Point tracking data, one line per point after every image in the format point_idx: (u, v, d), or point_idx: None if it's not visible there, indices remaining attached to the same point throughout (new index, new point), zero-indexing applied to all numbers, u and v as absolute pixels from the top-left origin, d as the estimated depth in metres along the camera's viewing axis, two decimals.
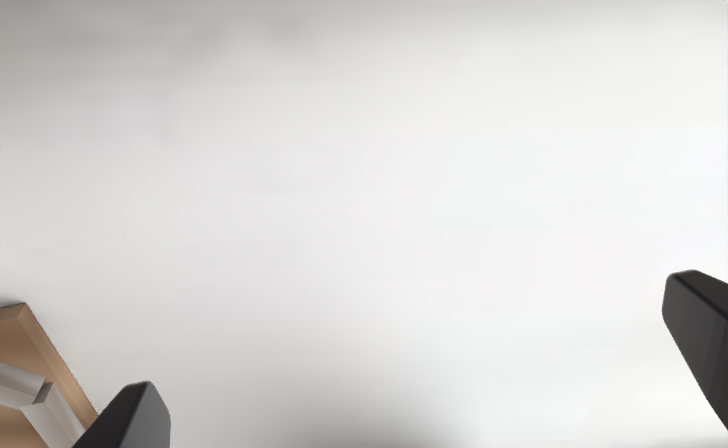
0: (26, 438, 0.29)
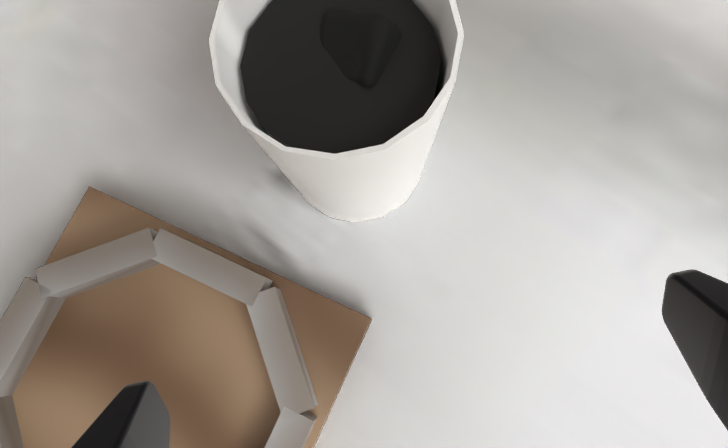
0: None
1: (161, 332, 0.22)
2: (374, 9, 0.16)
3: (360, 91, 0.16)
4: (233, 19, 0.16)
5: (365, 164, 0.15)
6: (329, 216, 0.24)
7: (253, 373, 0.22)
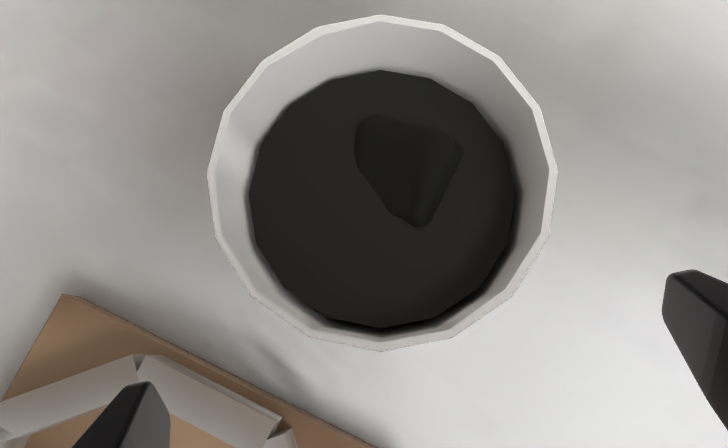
0: None
1: None
2: (425, 119, 0.12)
3: (408, 232, 0.12)
4: (240, 136, 0.12)
5: None
6: None
7: None
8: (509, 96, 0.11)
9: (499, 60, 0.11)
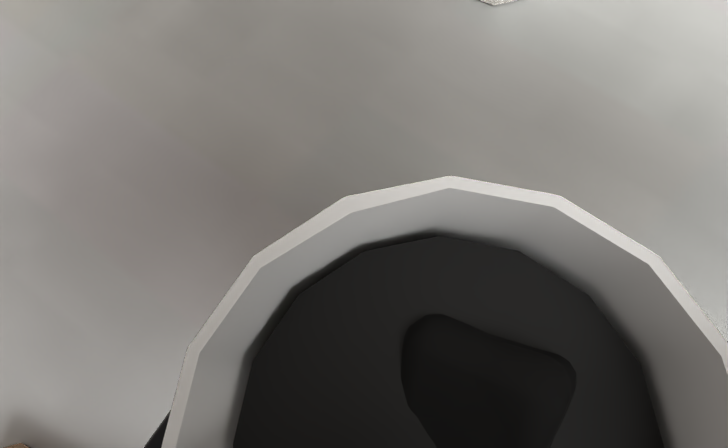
0: None
1: None
2: (514, 319, 0.08)
3: None
4: (218, 367, 0.07)
5: None
6: None
7: None
8: (670, 316, 0.07)
9: (658, 259, 0.07)
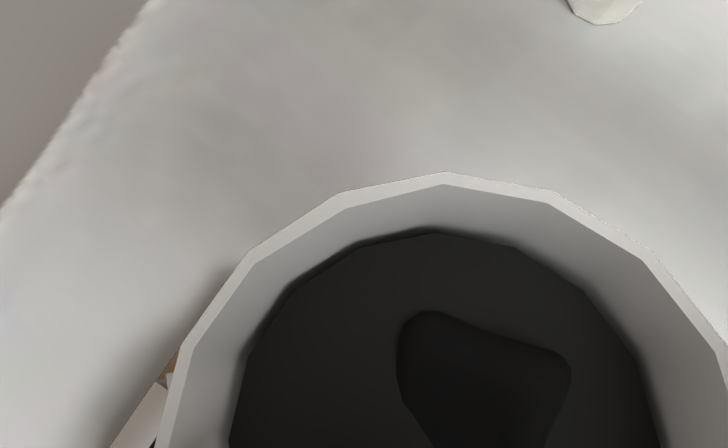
0: None
1: None
2: (509, 316, 0.08)
3: None
4: (213, 363, 0.07)
5: None
6: None
7: None
8: (664, 312, 0.07)
9: (651, 255, 0.07)
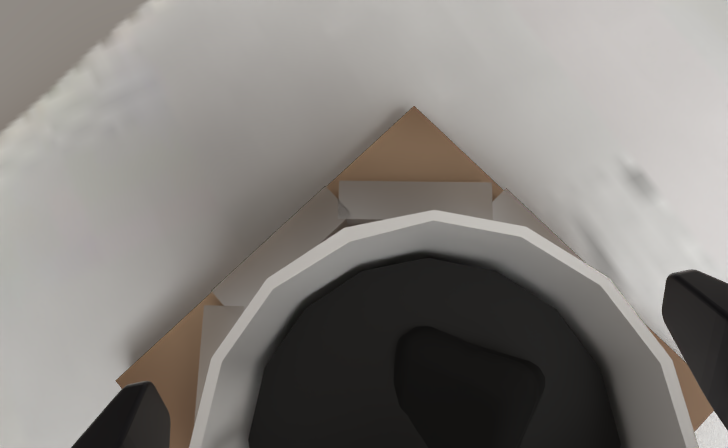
0: None
1: None
2: (491, 330, 0.09)
3: None
4: (236, 372, 0.08)
5: None
6: None
7: None
8: (620, 328, 0.08)
9: (609, 281, 0.08)
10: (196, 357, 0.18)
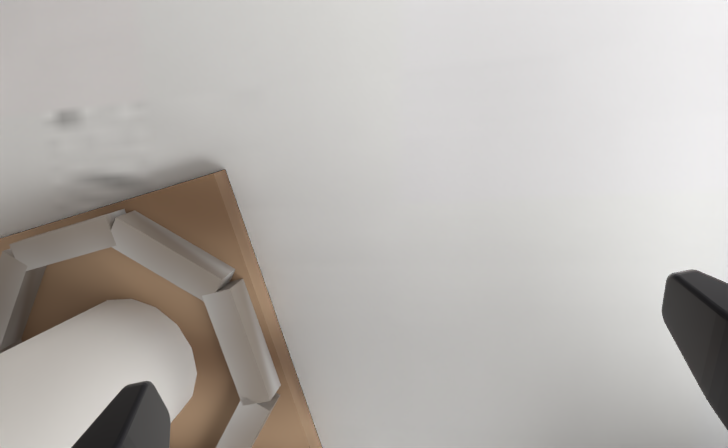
0: (206, 369, 0.23)
1: None
2: None
3: None
4: None
5: None
6: None
7: (175, 285, 0.23)
8: None
9: None
10: None
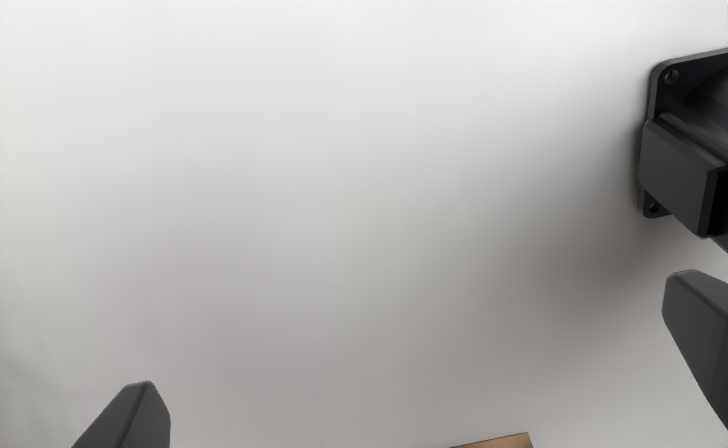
0: None
1: None
2: None
3: None
4: None
5: None
6: None
7: None
8: None
9: None
10: None
